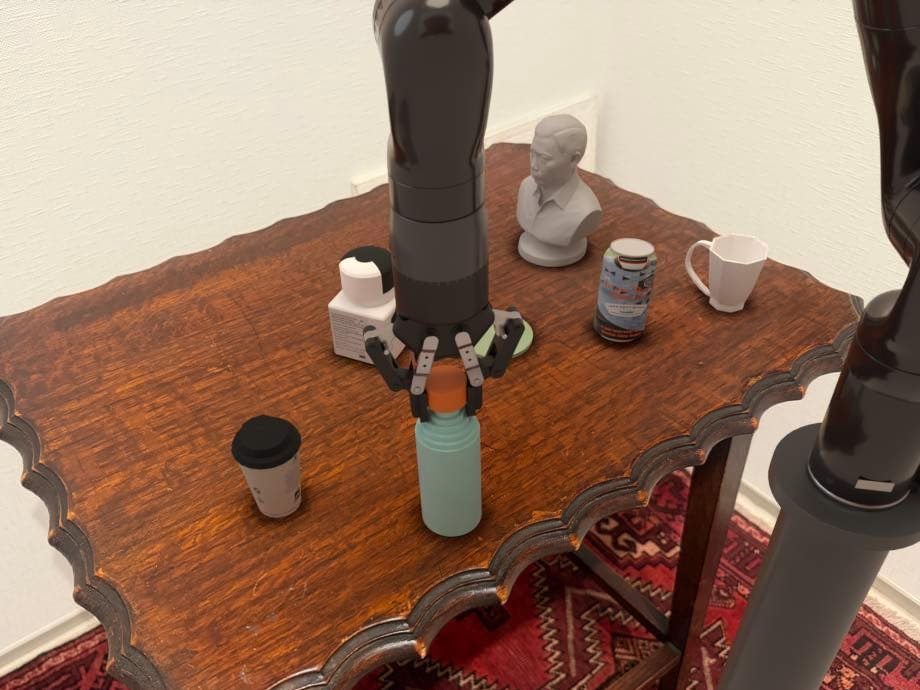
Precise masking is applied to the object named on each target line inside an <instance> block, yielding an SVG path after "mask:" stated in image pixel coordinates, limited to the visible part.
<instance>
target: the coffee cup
mask: <svg viewBox="0 0 920 690" xmlns="http://www.w3.org/2000/svg"><path fill="white" fill-rule="evenodd" d="M301 446H302V435H301V433H300V431H299V429H298V427H296V426H295V424H293V423H292V422H290V421H289V420H287V419H285V418H282V417H276V416H272V415H267V414H259V415H257V416H256V415H255V416H253V417H250V418H249V419H248V420H246V421H245V422H243V423H242V424H241V427H240V428H239V429H238V430H237V431H236V432H235V435H234V436H233V439H232V441H231V446H230V447H231V450H230V451H231V453H230V454H231V455H232V457H233V460H235V462H237V463H238V465H239V467H240V470H241V472H242V474H243V476H244V478H245V480H246V483H247V485H248V487H249V489H250V492H251V494H252V496H253V499H254V500H255V502H256V505H257V508H258V509H259V511H260V512H261V513H262V514H263V515H264V516H267V517H269V518H275V519H276V518H284V517H287V516H289V515H291V514H293V513H294V512H296V511H297V509H298V508H299V507H300V504H301V502H302V488H301V487H302V486H301V485H302V484H301V455H300V451H301V450H300V448H301Z"/></svg>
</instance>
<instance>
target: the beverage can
mask: <svg viewBox="0 0 920 690" xmlns="http://www.w3.org/2000/svg"><path fill="white" fill-rule="evenodd" d="M601 265H602V266H601V272H600V278H599V279H600V280H599V287H598V293H597V299H596V306H595V312H594V319H593V329H594V330H595V332H597V333H598V334H599V335H600V336H601V337H602V338H604V339H606V340H609V341H611V342H616V343H627V342H631V341H633V340H636V339H638V338H640V337H641V336H642V335H643V334H644V333H645V327H646V323H647V317H648V312H649V307H650V301H651V296H652V291H653V287H654V286H653V285H654V281H655V275H656V271H657V265H658V257H657V254H656V253H655V246H654V245H653V244H651V243H650V242H648V241H646V240H643V239H639V238H632V237H623V238H618V239H615V240H613V241H612V242H611V243H610V246H609V247H608V248H607V250H605V252H604V254H603V260H602V264H601Z"/></svg>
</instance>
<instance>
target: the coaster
mask: <svg viewBox="0 0 920 690" xmlns="http://www.w3.org/2000/svg"><path fill="white" fill-rule="evenodd" d="M522 320H523V323H524V326H525V331H524V333H523V335H522V337H521V339H520V341H519V343H518V346H517V348H516V350H515V352H514V354H513V356H512V358H511V360H512V359H515V358H518V357H520V356H521V355H523V354H525V353H526V352H527V351H528V350H530V348H531V346H532V344H533V341H534V331H533V328H532V327H531V326H530V324H529V322H527V321H526V320H524V319H523V318H522ZM494 335H495V330H494V325H493V324H492V326H491V327H490V328H489V330H488V331H487V332H486V333H485V335H484V336H483V337H482V338H481V339H480V341H479V342H478V343H477V344H476V346H475V347H474V349H475V353H476V356H477V359H481V358H483V357H485V355H486V353H487V350H488V348H489V346H490V344H491V341H492V339H493V337H494Z"/></svg>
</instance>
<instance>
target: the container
mask: <svg viewBox="0 0 920 690" xmlns="http://www.w3.org/2000/svg"><path fill="white" fill-rule="evenodd" d="M338 267H339V275H340V283H341V290H340V291H339V292H338V293H337V294H336V295H335V296H334V297H333V299H332V300H331V301H330V302H329V303H328V305H327V308H328V315H329V322H330V330H331V338H332V344H333V350H334V354H335V355H339V356H342V357H346V358H348V359H352V360H356V361H360V362H363V363H366V364H371V365H374V363H373V362H372V360H371V358H370V357H369V355H368V354H367V352H366V350H365V344H364V337H363V329H364V327H366V326H368V325H372V326H375V327H376V329H378V328H380V327H382V326H384V325H387V324H389V323H391V318H392V316H393V314H394V312H395V309H396V303H395V291H394V280H393V268H392V257H391V251H390V250H388V249H387V248H384V247H382V246H378V245H363V246H358V247H354V248H352V249H350V250H348V251H347V252H345V253H344V254H343V255H342V256H341V258H340V259H339V263H338ZM392 346H393V348H392V350H391V351H390V352H391V353H392V355H393V357H394V358H395V360H396V359H397V358H398V357H399V355H400V354H401V353H402V352H403V350H404V349H405V347H406V346H405V345H404V344H403V343H402V342H401V341H400V340H399V339H397V338H396V337H395V338H394V339H393V340H392Z"/></svg>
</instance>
